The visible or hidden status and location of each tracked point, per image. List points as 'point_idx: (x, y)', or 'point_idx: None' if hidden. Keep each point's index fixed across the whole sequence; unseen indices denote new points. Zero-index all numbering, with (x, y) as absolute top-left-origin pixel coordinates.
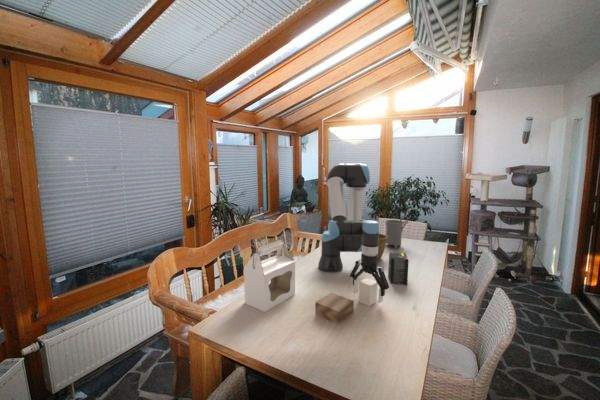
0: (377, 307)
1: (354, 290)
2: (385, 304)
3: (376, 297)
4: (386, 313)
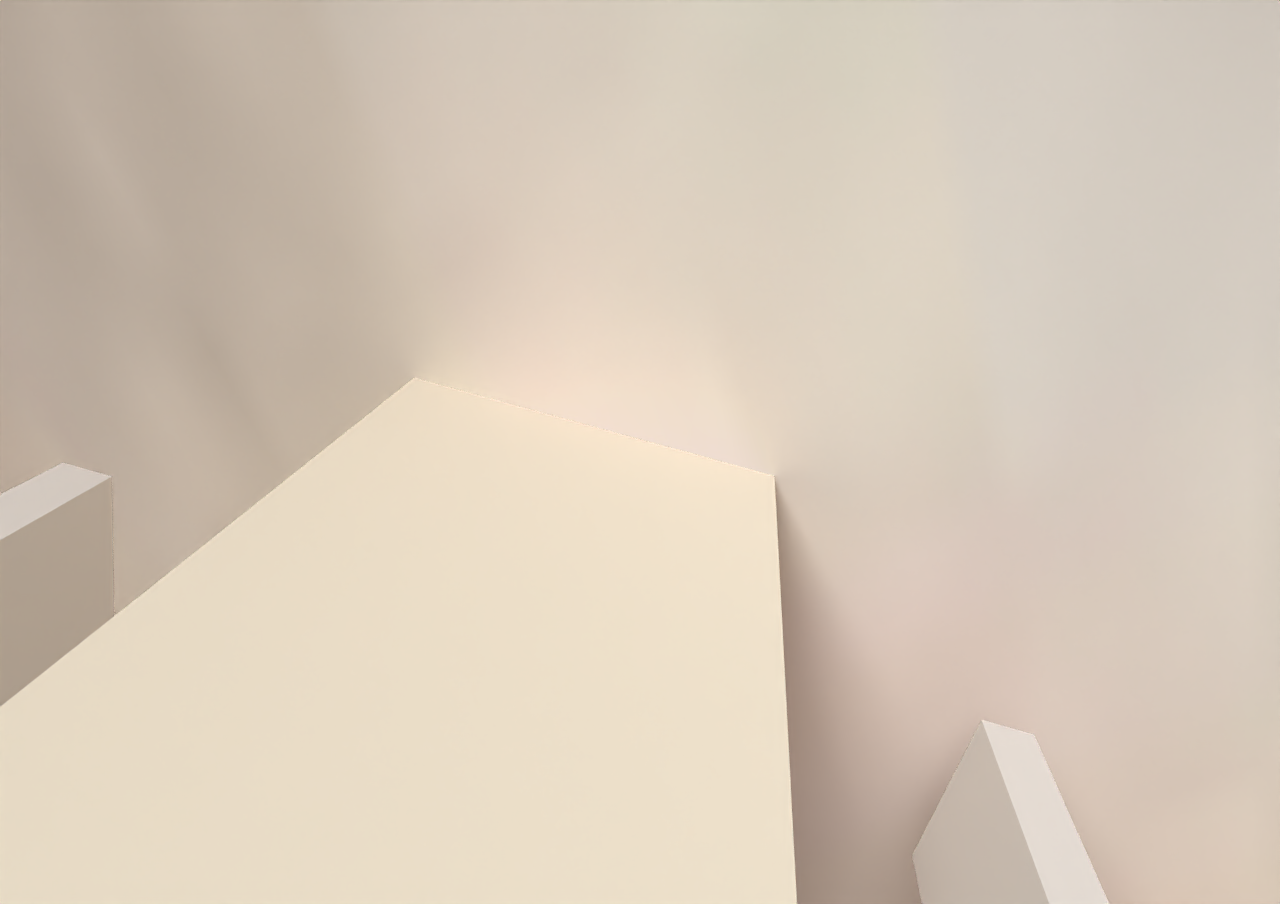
0: (874, 741)
1: (27, 672)
2: (1057, 509)
3: (771, 552)
4: (1131, 889)
